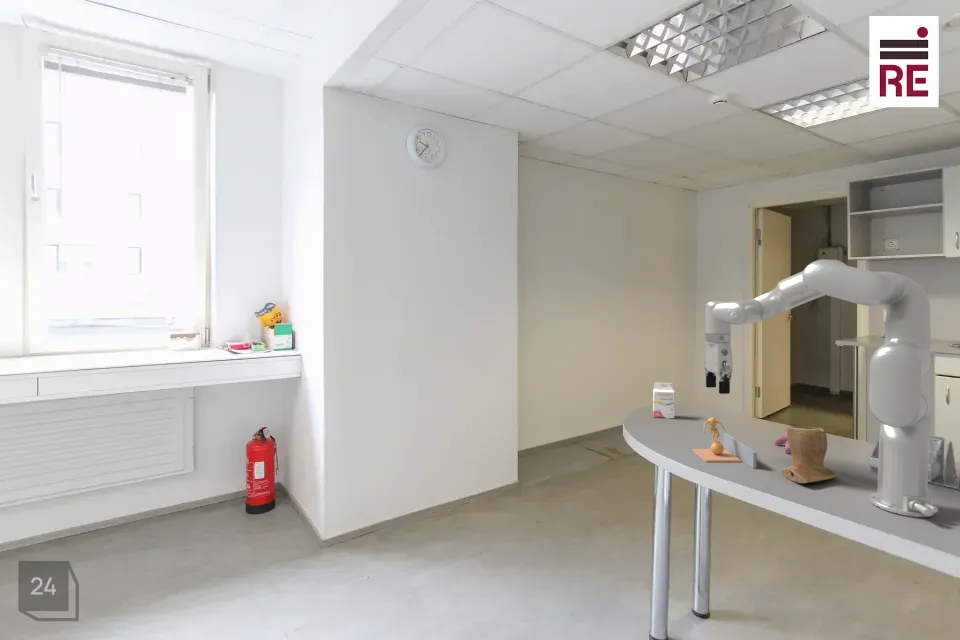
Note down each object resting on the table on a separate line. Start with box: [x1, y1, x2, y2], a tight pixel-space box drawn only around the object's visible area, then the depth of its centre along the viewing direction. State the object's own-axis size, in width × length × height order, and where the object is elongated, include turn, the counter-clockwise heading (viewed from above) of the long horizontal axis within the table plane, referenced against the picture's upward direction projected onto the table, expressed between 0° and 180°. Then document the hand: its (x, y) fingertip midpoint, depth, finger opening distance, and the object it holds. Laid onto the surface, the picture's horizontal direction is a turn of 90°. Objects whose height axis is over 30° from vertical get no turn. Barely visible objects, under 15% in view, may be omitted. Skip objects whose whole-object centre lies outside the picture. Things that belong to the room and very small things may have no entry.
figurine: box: [702, 416, 727, 454], centre depth 162 cm, size 8×6×12 cm
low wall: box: [723, 432, 758, 469], centre depth 160 cm, size 20×1×5 cm, turn 178°
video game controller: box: [774, 432, 791, 455], centre depth 166 cm, size 10×5×7 cm, turn 170°
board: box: [692, 448, 742, 463], centre depth 161 cm, size 11×11×1 cm
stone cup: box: [780, 425, 839, 484], centre depth 142 cm, size 15×12×15 cm
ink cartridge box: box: [652, 381, 676, 419], centre depth 209 cm, size 9×5×15 cm, turn 72°
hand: (717, 390), depth 159 cm, fingers open, 9 cm apart
